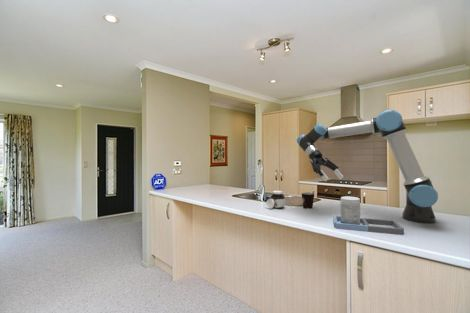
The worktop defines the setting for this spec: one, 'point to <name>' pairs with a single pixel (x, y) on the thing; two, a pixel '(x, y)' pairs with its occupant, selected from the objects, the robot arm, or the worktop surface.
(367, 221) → the bay frame
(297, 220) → the worktop surface
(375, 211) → the worktop surface
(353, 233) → the worktop surface
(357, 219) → the supplement tub
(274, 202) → the spread jar
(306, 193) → the coffee mug
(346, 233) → the worktop surface
